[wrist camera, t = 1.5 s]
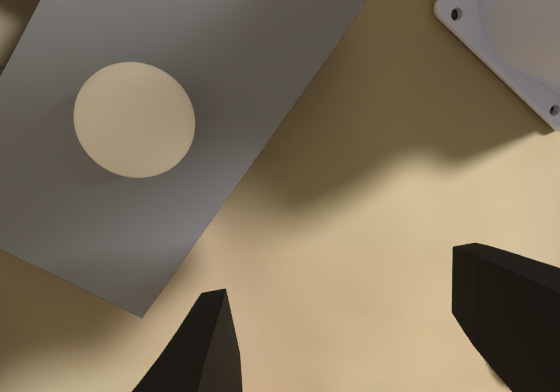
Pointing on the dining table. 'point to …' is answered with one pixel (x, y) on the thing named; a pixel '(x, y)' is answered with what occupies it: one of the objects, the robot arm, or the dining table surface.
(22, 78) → the deck
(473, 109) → the dining table surface
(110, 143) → the ball
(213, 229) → the dining table surface
